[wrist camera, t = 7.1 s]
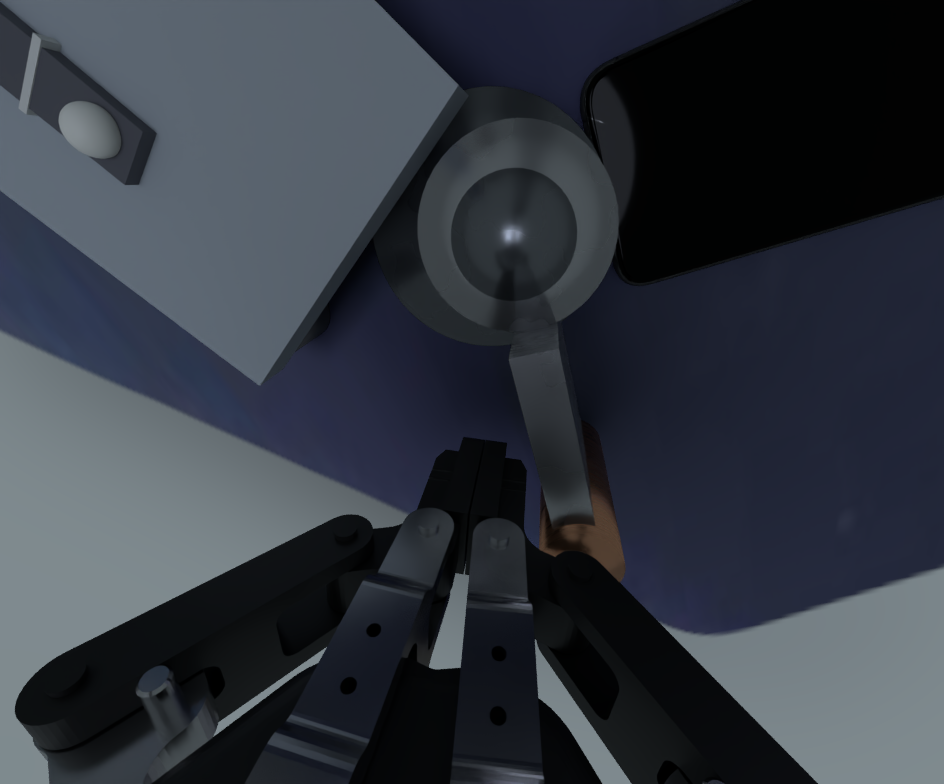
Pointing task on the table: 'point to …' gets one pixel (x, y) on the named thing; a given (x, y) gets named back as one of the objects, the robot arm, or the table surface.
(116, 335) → the table surface
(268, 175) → the slide switch panel
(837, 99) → the smartphone
